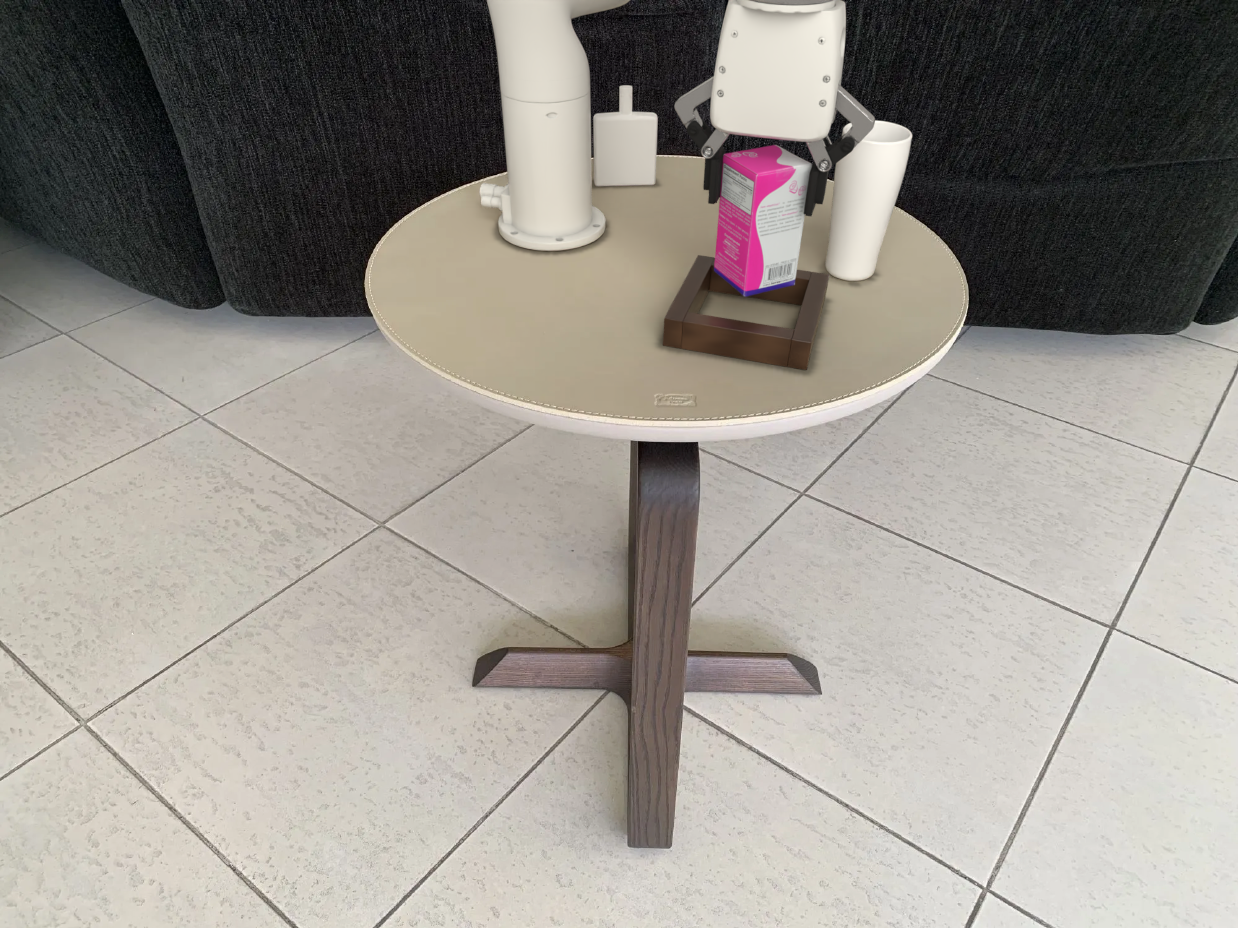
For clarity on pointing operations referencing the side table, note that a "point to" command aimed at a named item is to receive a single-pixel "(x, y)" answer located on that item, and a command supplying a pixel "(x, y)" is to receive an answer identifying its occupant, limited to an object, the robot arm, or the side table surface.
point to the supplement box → (761, 218)
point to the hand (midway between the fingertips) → (761, 203)
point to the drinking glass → (865, 199)
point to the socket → (742, 336)
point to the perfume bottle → (625, 145)
